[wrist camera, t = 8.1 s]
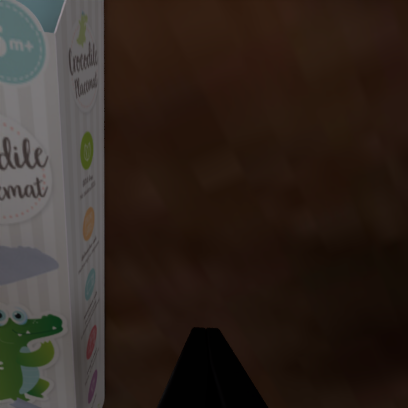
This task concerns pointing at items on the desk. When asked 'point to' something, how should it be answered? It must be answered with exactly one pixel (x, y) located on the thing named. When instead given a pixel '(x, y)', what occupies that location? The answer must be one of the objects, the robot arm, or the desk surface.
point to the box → (51, 203)
